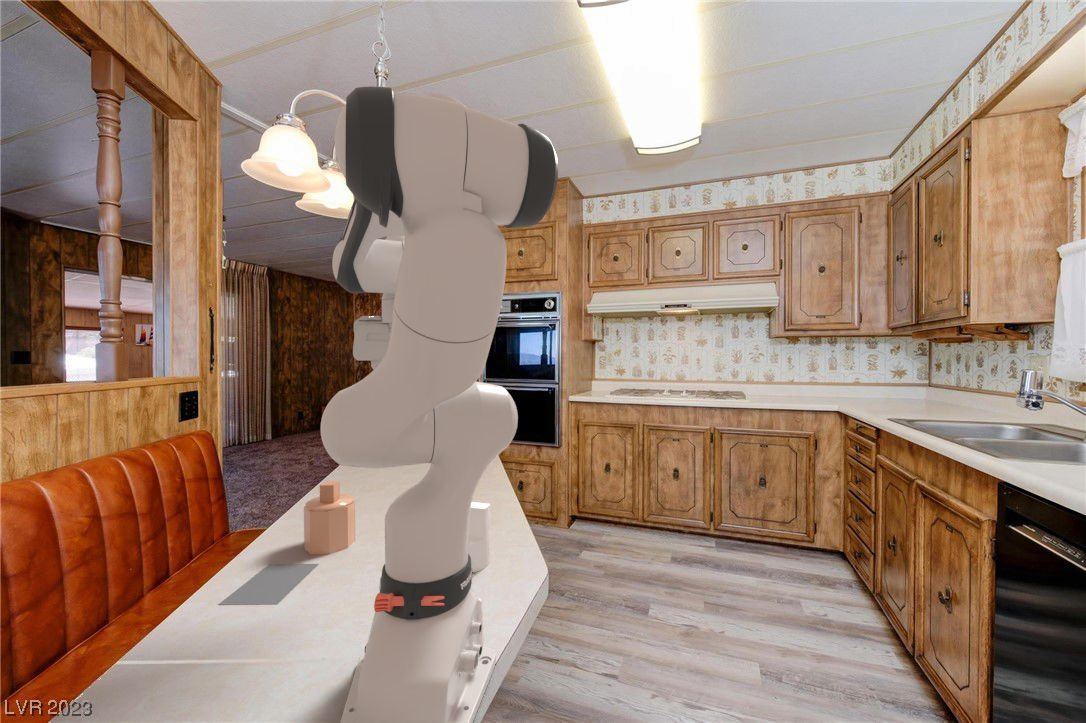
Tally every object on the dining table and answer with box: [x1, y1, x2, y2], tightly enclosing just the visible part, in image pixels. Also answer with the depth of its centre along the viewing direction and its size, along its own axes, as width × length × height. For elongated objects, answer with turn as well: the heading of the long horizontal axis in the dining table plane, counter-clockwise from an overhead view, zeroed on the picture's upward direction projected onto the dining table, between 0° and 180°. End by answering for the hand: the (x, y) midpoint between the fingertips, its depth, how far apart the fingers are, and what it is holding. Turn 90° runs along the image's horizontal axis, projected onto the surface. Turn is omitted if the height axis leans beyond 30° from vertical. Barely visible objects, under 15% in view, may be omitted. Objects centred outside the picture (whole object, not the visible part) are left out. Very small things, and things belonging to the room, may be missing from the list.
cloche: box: [303, 480, 356, 555], centre depth 95 cm, size 10×10×14 cm
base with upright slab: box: [468, 501, 491, 573], centre depth 88 cm, size 9×9×12 cm
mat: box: [217, 563, 320, 606], centre depth 79 cm, size 14×10×1 cm
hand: (404, 382), depth 88 cm, fingers open, 8 cm apart
